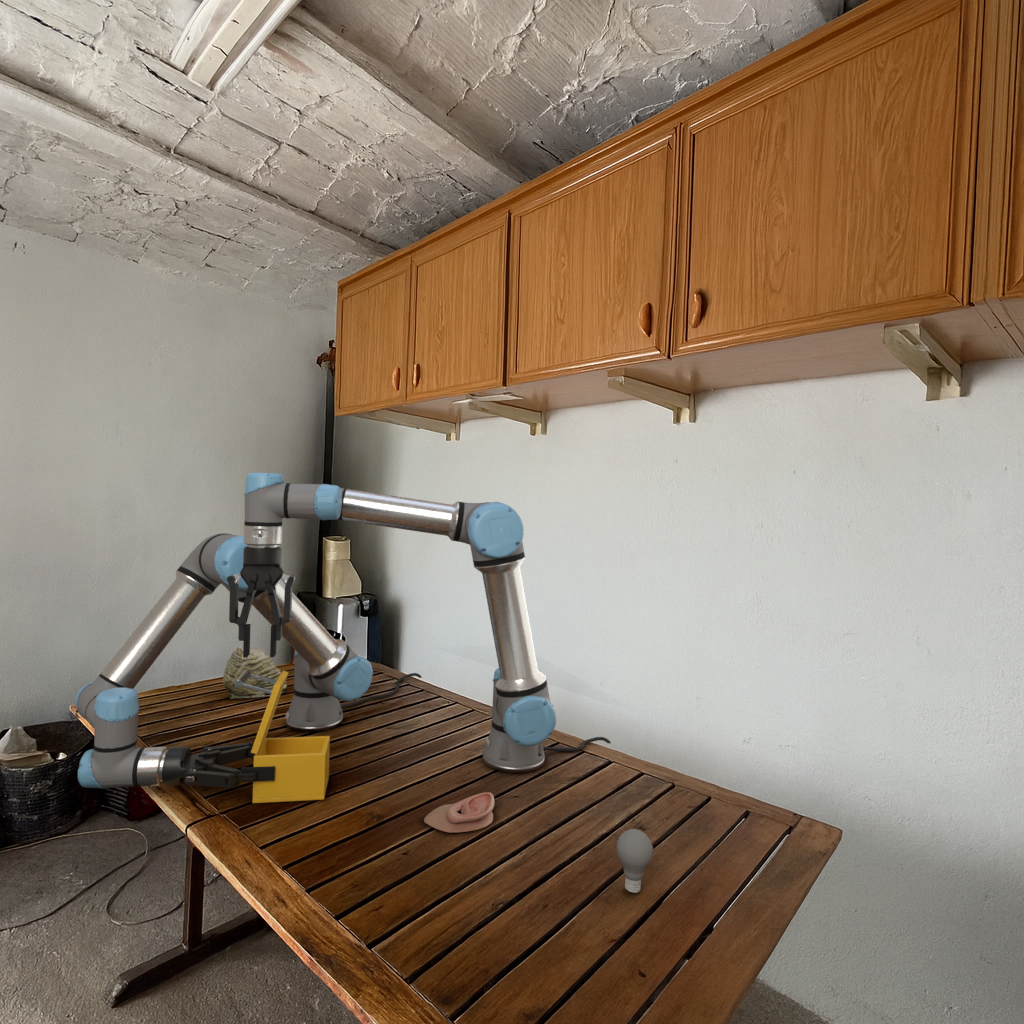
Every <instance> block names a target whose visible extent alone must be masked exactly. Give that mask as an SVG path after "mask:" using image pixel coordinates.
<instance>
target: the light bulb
mask: <svg viewBox="0 0 1024 1024" xmlns="http://www.w3.org/2000/svg"><path fill="white" fill-rule="evenodd" d="M615 849H616V854H617V857H618V859H619V861H620V863H621V865H622V867H623V873H624V874H623V875H624V876H625V878H624V888H625V890H627V891H628V892H630V893H634V894H635V893H639V892H640V891H641V889H642V887H641V886H642V879H643V877H644V875H645V871H646V868H647V867H648V866H649V864H650V863H651V861H652V859H653V855H654V847H653V843H652V841H651V838H649V836H648V835H647V834H646V833H645V832H643V831H642V830H641V829H636V828H629V829H627V830H625V831H623V832H622V833H621V834H620V835H619V837H618V839H617V841H616V847H615Z"/></svg>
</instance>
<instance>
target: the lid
mask: <svg viewBox="0 0 1024 1024" xmlns="http://www.w3.org/2000/svg"><path fill="white" fill-rule="evenodd" d="M288 675H289V671H286V670H282V671H281V675H280V676H279V678H278V679H277V680H275V679H271V678H267V677H264V676H260V675H256V674H253V673H251V671H250V670H245V671H244V672H243V673H242V674H241V675H240V676H239V678H238V679H237V680H236V681H235V683H234V685H235V687H236V688H241V687H246V688H250V689H254V690H257V691H261V692H265V693H268V694H271V696H269V699H268V702H267V705H266V707H265V711H264V713H263V716H262V718H261V722H260V725H259V728H258V730H257V733H256V736H255V739H254V742H253V747H252V750H251V753H254V754H257V753H258V751H259V749H260V747H261V745H262V743H263V741H264V739H265V738H267V735H268V732H269V729H270V727H271V724H272V721H273V718H274V715H275V712H276V709H277V707H278V703H279V701H280V698H281V695H282V694H283V693H282V690H283V687H284V684H285V681H286V682H287V678H288ZM249 677H252V678H255V679H259V680H263V681H266V682H270V683H274V687H273V690H270V689H266V688H263V687H259V686H255V685H251V684H248V683H245V682H246V680H247V679H248V678H249Z"/></svg>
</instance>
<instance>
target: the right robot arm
mask: <svg viewBox="0 0 1024 1024" xmlns="http://www.w3.org/2000/svg"><path fill="white" fill-rule="evenodd" d="M284 478H285V477H284V475H283V474H281V473H277V472H275V473H274V472H250V473H248V474H247V475H246V479H245V489H244V493H243V494H244V495H243V496H244V522H243V524H244V525H243V536H244V544H246V545H247V546H246V547H245V548H244V549H243V568H242V570H241V572H240V573H238V574H235V575H230V576H228V577H227V581H228V583H229V586H230V592H229V610H228V612H229V613H228V621H229V623H231V624H236V625H237V627H238V638H237V639H238V641H239V642H242V643H243V644H242V645H243V646H242V647H243V658H247V657H248V656H249V655H250V649H251V623H248V619H249V615H250V612H251V609H252V606H253V605H252V602H253V598H254V595H255V592H256V590H260V589H261V590H267V594H268V596H269V601H270V605H271V609H272V614H273V618H274V623H275V624H273V625H270V645H269V647H270V648H269V658H275V657H276V655H277V641H281V639H282V638H283V637H282V624H284V623H288V622H289V621H290V620H291V614H292V592H293V586H294V583H295V581H296V579H297V577H296V575H295V574H292V575H290V574H287V573H285V572H284V570H283V567H282V552H283V551H282V550H283V549H282V548H281V547H280V545H282V543H283V519H296V520H300V519H301V520H321V521H328V520H331V521H333V520H335V521H344V522H345V521H346V522H352V523H357V524H364V525H372V526H379V527H384V528H391V529H392V528H393V529H398V530H399V529H400V530H405V531H412V532H419V533H425V534H432V535H440V536H446V537H448V538H449V540H450V541H451V542H458V543H463V544H466V545H469V546H470V553H471V559H472V564H473V568H474V569H476V570H477V571H478V572H480V573H481V575H482V579H483V586H484V592H485V597H486V602H487V608H488V614H489V620H490V625H491V631H492V635H493V641H494V647H495V653H496V659H497V664H498V665H497V666H498V668H496V669H495V670H494V673H493V679H492V682H493V686H492V687H493V689H492V707H491V708H492V709H491V729H490V732H489V734H488V736H486V738H485V745H484V748H483V752H482V762H483V763H484V764H485V765H486V766H487V767H489V768H490V769H493V770H495V771H498V772H503V773H510V774H511V773H512V774H522V773H529V772H535V771H537V770H539V769H540V768H542V767H543V766H544V764H545V760H546V759H545V758H546V757H545V756H546V755H545V751H551V752H579V751H581V750H583V749H584V747H585V745H587V744H589V743H593V742H597V741H603V742H604V743H606V744H612V742H611V741H610V740H609V738H606V737H603V736H595V737H592V738H588V739H585V740H583V741H582V742H581V744H580V745H579V746H576V747H555V746H543V743H544V742H545V741H547V740H548V739H549V738H550V737H551V735H552V734H553V733H554V731H555V729H556V725H557V713H556V709H555V706H554V705H553V703H552V702H551V696H550V692H549V686H548V679H547V676H546V674H545V673H543V672H542V671H540V670H539V668H538V662H537V657H536V650H535V645H534V640H533V635H532V627H531V623H530V622H531V621H530V616H529V612H528V605H527V599H526V593H525V589H524V588H525V587H524V581H523V576H522V571H521V565H523V562H524V561H525V559H526V554H525V548H524V543H523V539H524V535H525V534H524V529H525V528H524V524H523V521H522V519H521V516H520V514H518V513H517V511H516V510H515V509H514V508H512V506H510V505H508V504H506V503H503V502H501V501H493V502H492V501H486V502H465V501H456V502H455V503H453V504H449V503H445V502H444V503H443V502H436V501H430V500H423V499H417V498H410V497H404V496H403V497H402V496H397V495H389V494H384V493H377V492H371V491H363V490H357V489H351V488H344V487H340V486H339V485H336V484H328V483H291V482H290V483H289V482H285V479H284ZM241 578H243V580H244V581H245V582H246V584H247V585H248V589H247V592H246V597H245V601H244V603H243V605H242V608H241V612H240V615H239V601H238V598H239V585H238V584H239V583H240V579H241ZM280 579H281V580H282V581H283V583H284V584H285V596H284V617H282V616H281V611H280V607H279V603H278V598H277V594H276V587H275V585H276V584H277V583H278V581H279V580H280Z"/></svg>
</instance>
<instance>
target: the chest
mask: <svg viewBox="0 0 1024 1024" xmlns="http://www.w3.org/2000/svg"><path fill="white" fill-rule="evenodd" d="M330 745H331V735H317V736H315V735H314V736H289V737H288V736H287V737H286V736H284V737H266V738H265V739H264V741H263V743H262V745H261V747H260V749H259V751H258V753H257V754H255V756H254V760H253V766H252V767H266V766H275V779H274V781H254V782H252V804H263V803H265V804H266V803H280V802H281V803H282V802H285V803H286V802H303V801H323V800H325V798H326V792H327V788H328V783H329V777H330V749H331V748H330Z"/></svg>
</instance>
